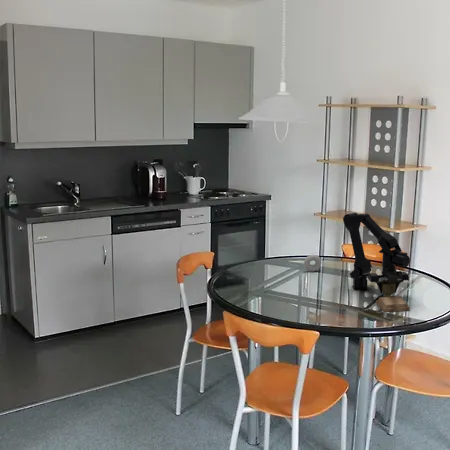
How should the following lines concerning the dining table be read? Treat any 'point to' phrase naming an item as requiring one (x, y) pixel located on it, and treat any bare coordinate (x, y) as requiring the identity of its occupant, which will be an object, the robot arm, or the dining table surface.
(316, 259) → the donut
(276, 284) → the dining table surface
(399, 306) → the plinth
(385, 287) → the cup
